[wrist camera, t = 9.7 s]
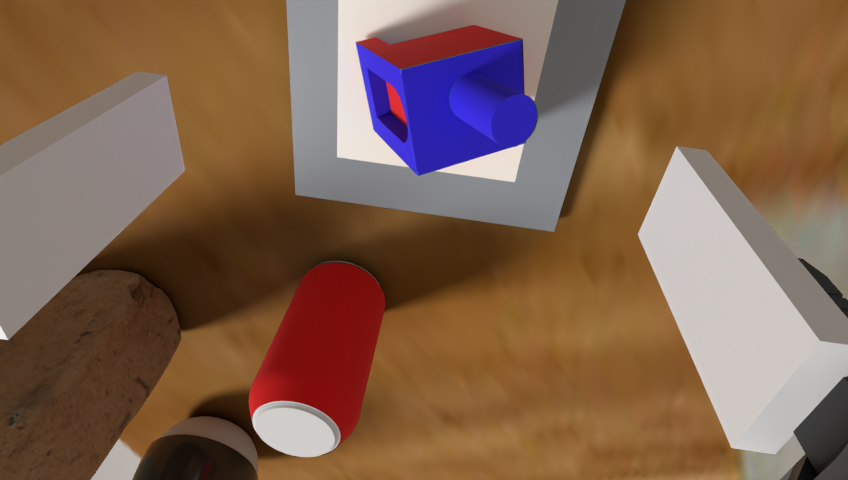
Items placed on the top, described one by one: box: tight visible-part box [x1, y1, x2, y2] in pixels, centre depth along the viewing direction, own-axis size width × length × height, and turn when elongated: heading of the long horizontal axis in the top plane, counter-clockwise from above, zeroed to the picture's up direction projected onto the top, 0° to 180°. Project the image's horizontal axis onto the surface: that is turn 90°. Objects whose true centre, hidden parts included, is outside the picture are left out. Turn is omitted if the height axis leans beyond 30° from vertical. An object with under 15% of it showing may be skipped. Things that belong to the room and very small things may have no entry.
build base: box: [286, 0, 626, 232], centre depth 23 cm, size 20×16×7 cm
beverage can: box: [249, 261, 385, 457], centre depth 31 cm, size 6×6×12 cm
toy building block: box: [356, 25, 538, 176], centre depth 17 cm, size 4×4×8 cm
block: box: [0, 270, 181, 480], centre depth 31 cm, size 11×8×20 cm
